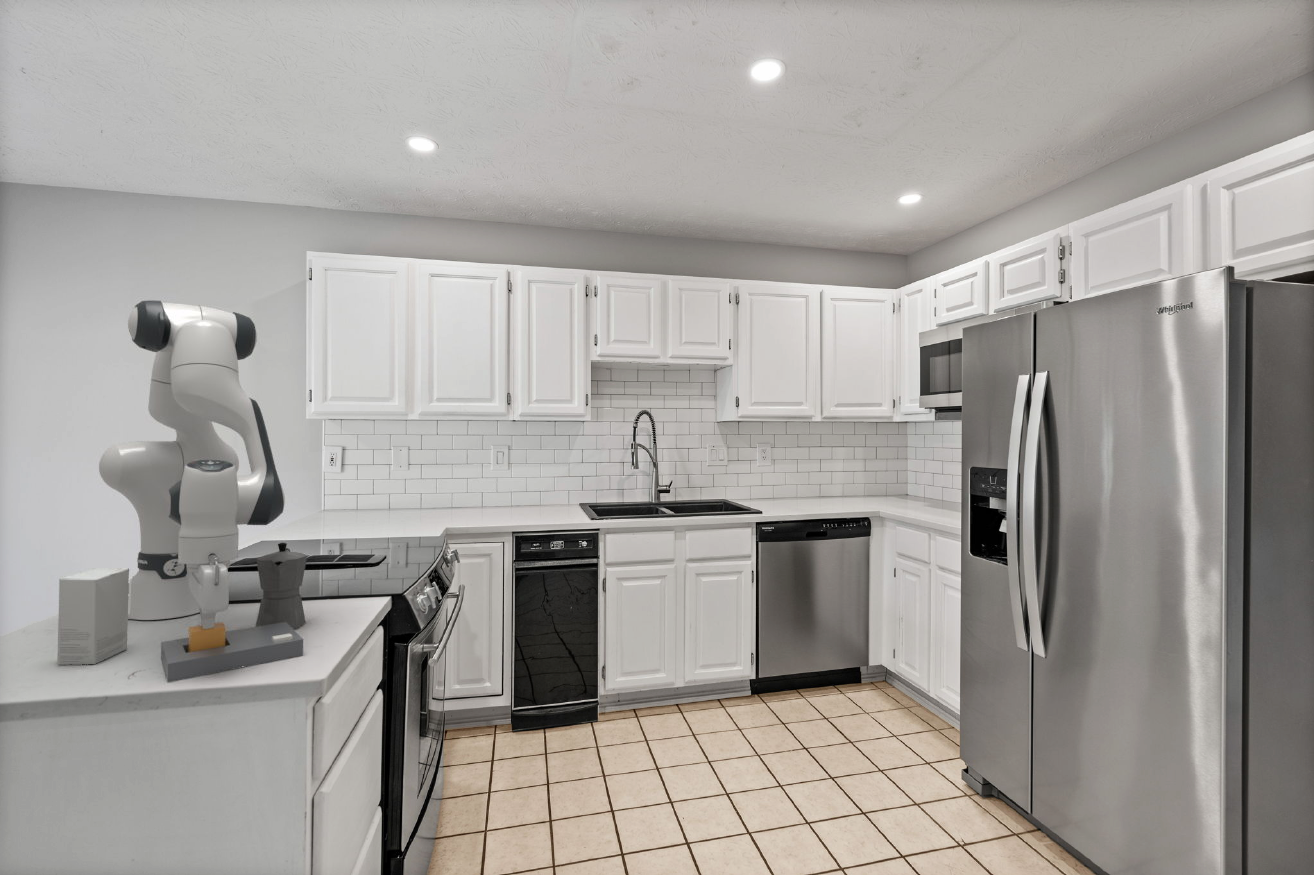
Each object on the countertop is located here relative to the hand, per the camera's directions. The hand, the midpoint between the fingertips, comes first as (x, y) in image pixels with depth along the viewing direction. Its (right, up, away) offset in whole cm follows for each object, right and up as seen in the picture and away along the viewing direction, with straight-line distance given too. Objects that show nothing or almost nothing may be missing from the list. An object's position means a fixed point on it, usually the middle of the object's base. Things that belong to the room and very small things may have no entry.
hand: (207, 626), depth 112 cm
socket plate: (+3, -6, +3) cm, 7 cm away
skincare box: (-21, -6, +1) cm, 22 cm away
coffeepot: (0, -7, +22) cm, 23 cm away
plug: (0, -6, 0) cm, 6 cm away
